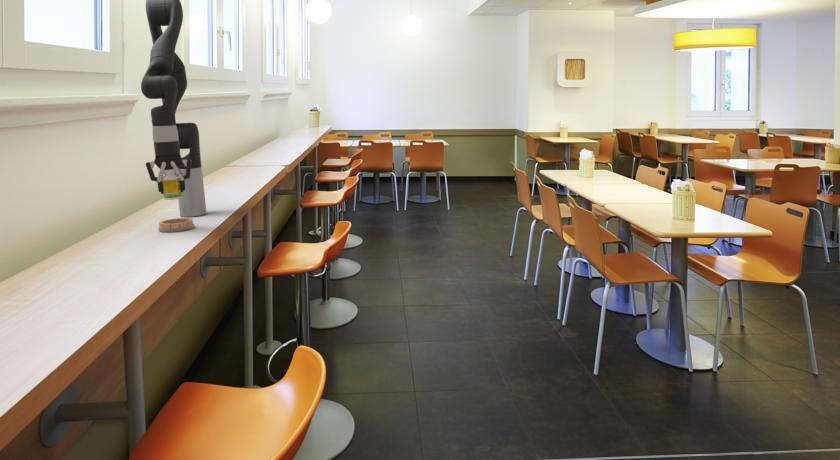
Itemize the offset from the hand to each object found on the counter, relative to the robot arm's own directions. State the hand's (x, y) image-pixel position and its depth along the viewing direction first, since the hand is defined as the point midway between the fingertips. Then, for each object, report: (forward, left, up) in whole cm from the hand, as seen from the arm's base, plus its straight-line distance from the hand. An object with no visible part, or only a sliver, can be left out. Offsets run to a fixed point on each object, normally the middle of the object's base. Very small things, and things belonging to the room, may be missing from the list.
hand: (172, 192), depth 202 cm
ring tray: (0, 0, -12) cm, 12 cm away
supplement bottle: (0, 0, -2) cm, 2 cm away
